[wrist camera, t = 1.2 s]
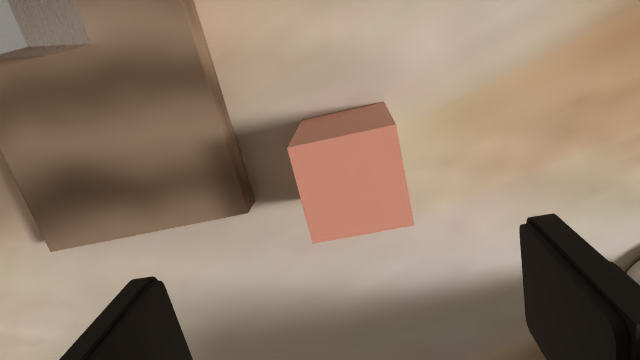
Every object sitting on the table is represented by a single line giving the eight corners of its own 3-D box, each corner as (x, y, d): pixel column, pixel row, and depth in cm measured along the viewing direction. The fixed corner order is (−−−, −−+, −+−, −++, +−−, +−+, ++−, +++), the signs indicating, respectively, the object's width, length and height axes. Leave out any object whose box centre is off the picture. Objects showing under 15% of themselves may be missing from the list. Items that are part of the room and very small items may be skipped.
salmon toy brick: (398, 180, 27) (414, 225, 21) (320, 196, 28) (312, 243, 22) (384, 101, 25) (395, 124, 19) (301, 120, 26) (286, 148, 20)
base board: (254, 200, 28) (248, 213, 26) (69, 238, 30) (50, 251, 28) (161, -103, 23) (145, -115, 21) (-60, -34, 24) (-94, -39, 23)
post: (92, 43, 23) (27, 46, 19) (50, 54, 24) (-23, 60, 19) (72, -6, 23) (0, -16, 18) (30, 6, 23) (-52, 0, 18)
